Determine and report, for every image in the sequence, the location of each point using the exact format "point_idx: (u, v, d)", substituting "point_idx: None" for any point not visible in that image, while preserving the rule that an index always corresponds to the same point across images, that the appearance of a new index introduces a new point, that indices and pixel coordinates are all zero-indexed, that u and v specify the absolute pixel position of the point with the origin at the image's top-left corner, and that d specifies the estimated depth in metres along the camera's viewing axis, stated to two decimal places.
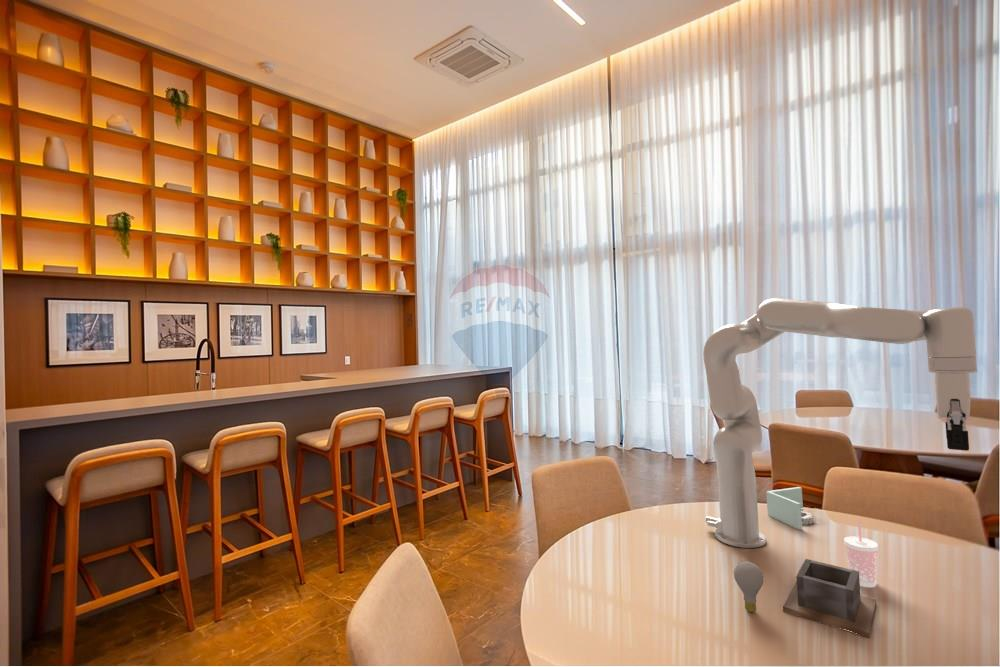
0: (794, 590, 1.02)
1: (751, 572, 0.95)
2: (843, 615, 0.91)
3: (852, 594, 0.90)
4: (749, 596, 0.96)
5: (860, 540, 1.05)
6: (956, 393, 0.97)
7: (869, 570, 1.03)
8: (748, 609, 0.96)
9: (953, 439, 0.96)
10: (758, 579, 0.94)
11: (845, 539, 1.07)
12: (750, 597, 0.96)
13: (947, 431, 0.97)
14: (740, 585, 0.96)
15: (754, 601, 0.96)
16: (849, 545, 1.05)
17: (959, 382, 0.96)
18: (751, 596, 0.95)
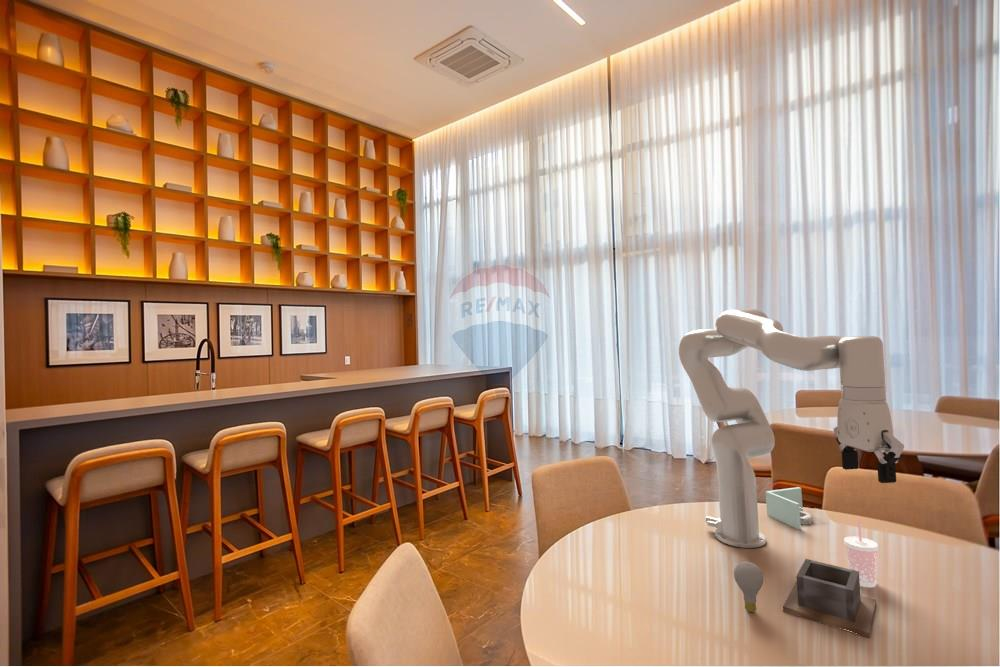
0: (794, 590, 1.02)
1: (751, 572, 0.95)
2: (843, 615, 0.91)
3: (852, 594, 0.90)
4: (749, 596, 0.96)
5: (860, 540, 1.05)
6: (885, 424, 0.94)
7: (869, 570, 1.03)
8: (748, 609, 0.96)
9: (887, 472, 0.93)
10: (758, 579, 0.94)
11: (845, 539, 1.07)
12: (750, 597, 0.96)
13: (880, 464, 0.94)
14: (740, 585, 0.96)
15: (754, 601, 0.96)
16: (849, 545, 1.05)
17: (886, 412, 0.94)
18: (751, 596, 0.95)
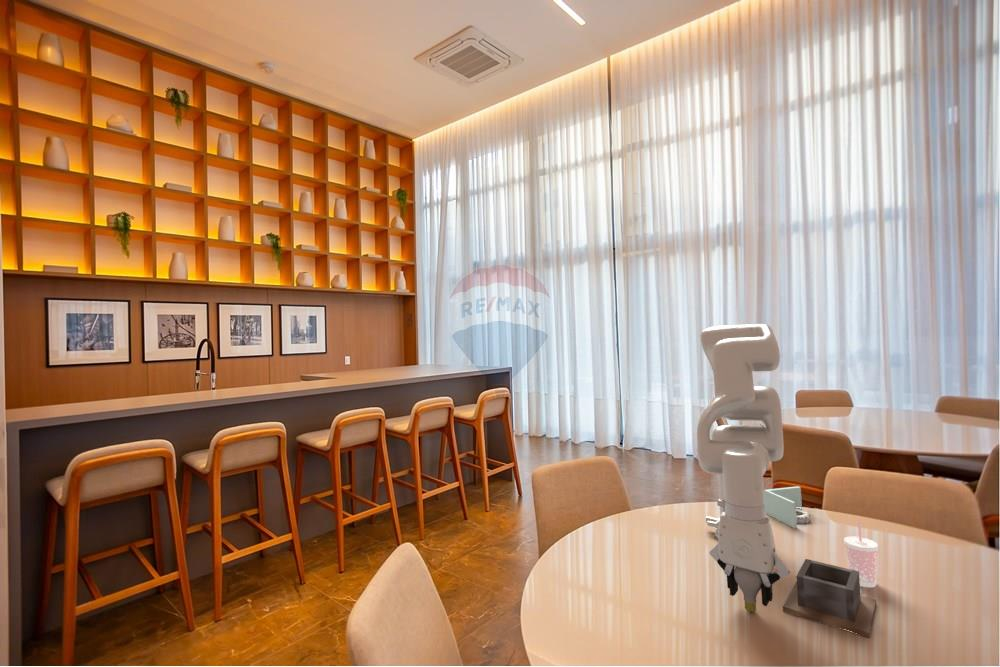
0: (794, 590, 1.02)
1: (751, 572, 0.95)
2: (843, 615, 0.91)
3: (852, 594, 0.90)
4: (749, 596, 0.96)
5: (860, 540, 1.05)
6: (773, 542, 0.94)
7: (869, 570, 1.03)
8: (748, 609, 0.96)
9: (770, 594, 0.94)
10: (758, 579, 0.94)
11: (845, 539, 1.07)
12: (750, 597, 0.96)
13: (765, 588, 0.93)
14: (740, 585, 0.96)
15: (754, 601, 0.96)
16: (849, 545, 1.05)
17: (771, 529, 0.94)
18: (751, 596, 0.95)
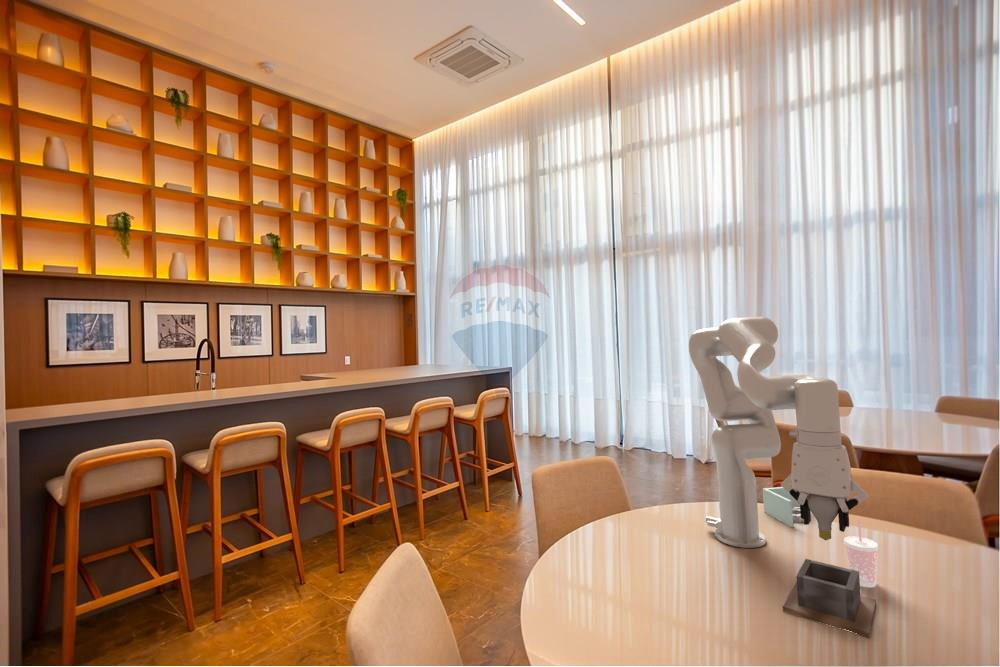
0: (794, 590, 1.02)
1: (827, 499, 0.95)
2: (843, 615, 0.91)
3: (852, 594, 0.90)
4: (825, 523, 0.96)
5: (860, 540, 1.05)
6: (850, 467, 0.94)
7: (869, 570, 1.03)
8: (823, 537, 0.96)
9: (847, 520, 0.94)
10: (835, 505, 0.94)
11: (845, 539, 1.07)
12: (826, 524, 0.96)
13: (842, 513, 0.93)
14: (816, 513, 0.96)
15: (830, 528, 0.96)
16: (849, 545, 1.05)
17: None
18: (827, 523, 0.95)
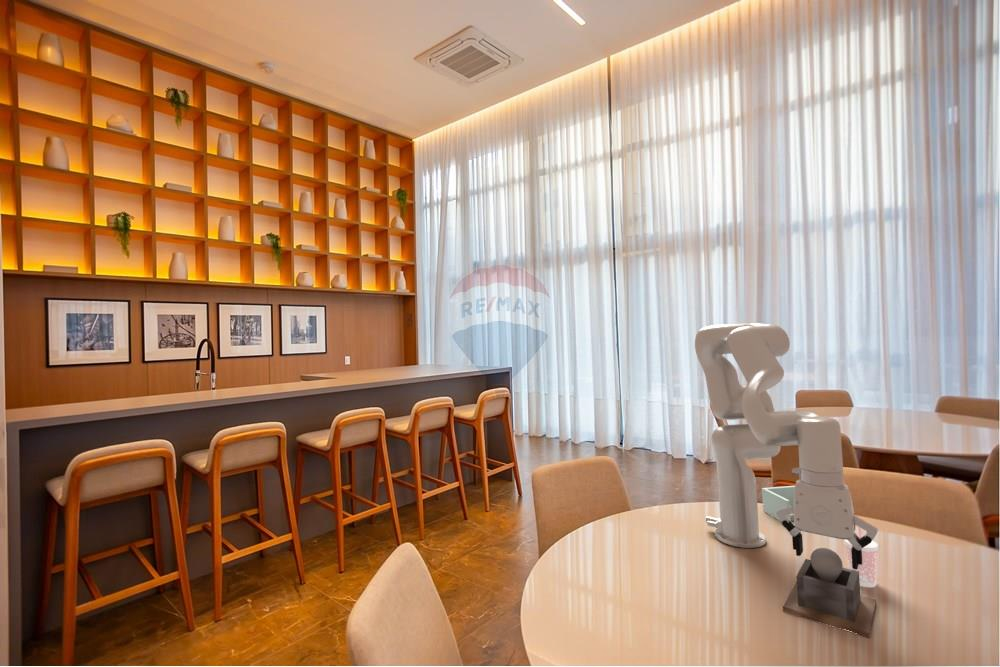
0: (794, 590, 1.02)
1: (830, 558, 0.95)
2: (843, 615, 0.91)
3: (852, 594, 0.90)
4: None
5: None
6: (852, 508, 0.94)
7: (869, 570, 1.03)
8: None
9: (861, 558, 0.92)
10: (838, 565, 0.94)
11: (845, 539, 1.07)
12: None
13: (855, 551, 0.92)
14: (819, 571, 0.96)
15: None
16: (849, 545, 1.05)
17: (850, 495, 0.94)
18: None
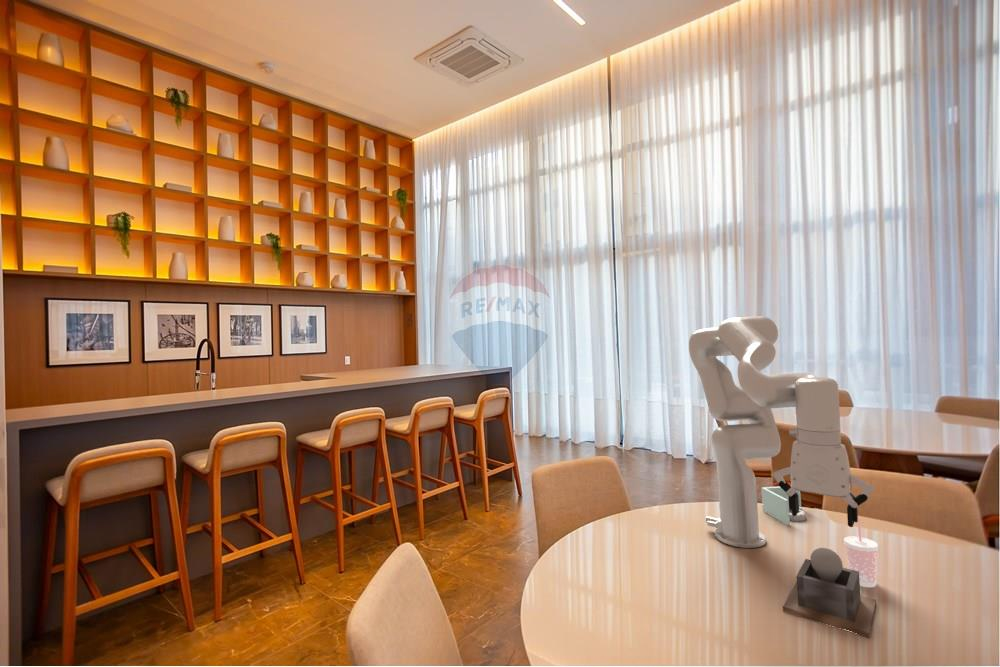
0: (794, 590, 1.02)
1: (830, 558, 0.95)
2: (843, 615, 0.91)
3: (852, 594, 0.90)
4: None
5: (860, 540, 1.05)
6: (849, 466, 0.94)
7: (869, 570, 1.03)
8: None
9: (856, 516, 0.93)
10: (838, 565, 0.94)
11: (845, 539, 1.07)
12: None
13: (851, 509, 0.93)
14: (818, 571, 0.96)
15: None
16: (849, 545, 1.05)
17: None
18: None
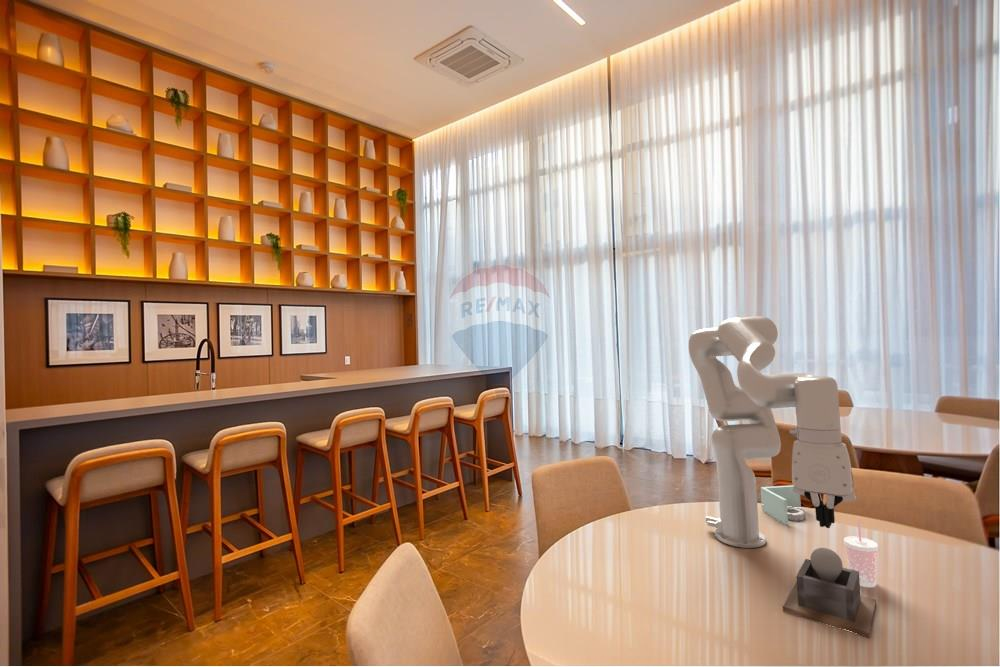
0: (794, 590, 1.02)
1: (830, 558, 0.95)
2: (843, 615, 0.91)
3: (852, 594, 0.90)
4: None
5: (860, 540, 1.05)
6: (850, 465, 0.94)
7: (869, 570, 1.03)
8: None
9: (833, 517, 0.95)
10: (838, 565, 0.94)
11: (845, 539, 1.07)
12: None
13: (827, 510, 0.95)
14: (818, 571, 0.96)
15: None
16: (849, 545, 1.05)
17: (848, 453, 0.94)
18: None
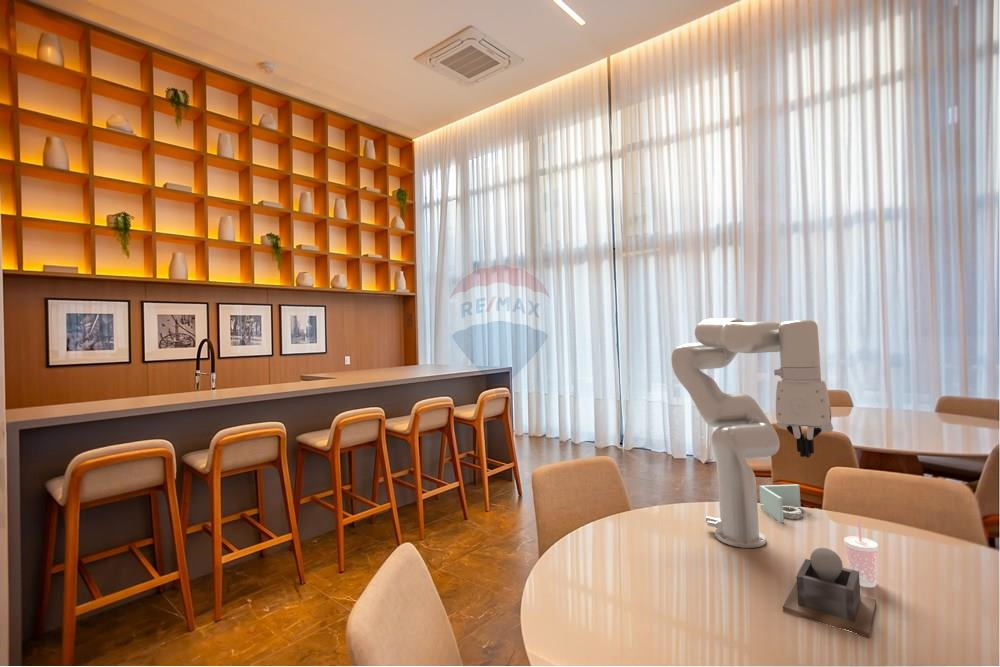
0: (794, 590, 1.02)
1: (830, 558, 0.95)
2: (843, 615, 0.91)
3: (852, 594, 0.90)
4: None
5: (860, 540, 1.05)
6: (828, 399, 1.03)
7: (869, 570, 1.03)
8: None
9: (812, 447, 1.04)
10: (838, 565, 0.94)
11: (845, 539, 1.07)
12: None
13: (807, 441, 1.04)
14: (818, 571, 0.96)
15: None
16: (849, 545, 1.05)
17: None
18: None
